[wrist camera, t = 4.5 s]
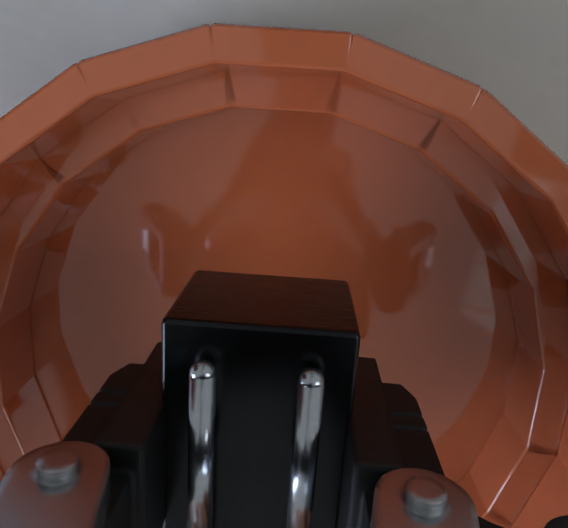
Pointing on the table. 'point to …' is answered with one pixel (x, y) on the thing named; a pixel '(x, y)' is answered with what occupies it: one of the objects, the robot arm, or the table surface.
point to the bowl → (294, 234)
